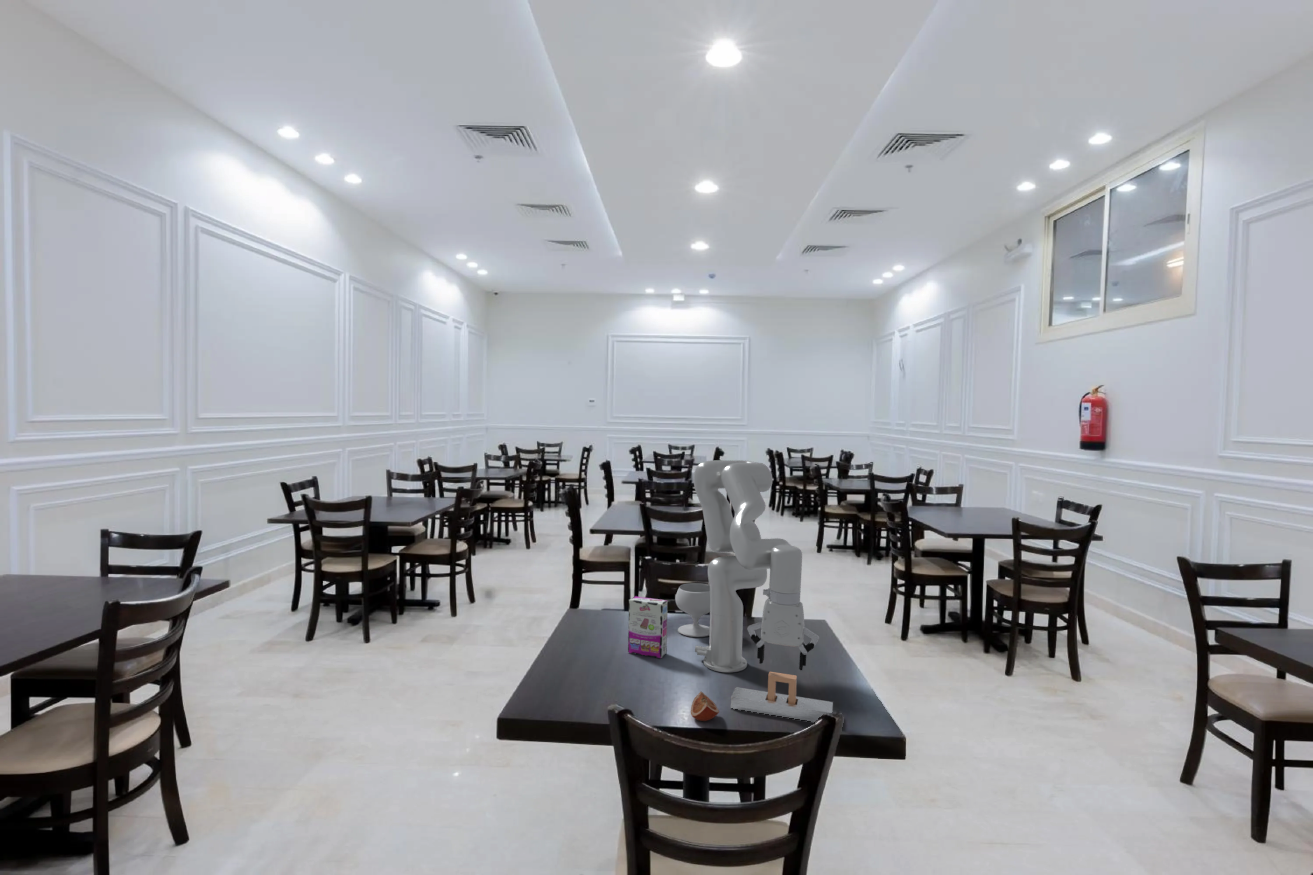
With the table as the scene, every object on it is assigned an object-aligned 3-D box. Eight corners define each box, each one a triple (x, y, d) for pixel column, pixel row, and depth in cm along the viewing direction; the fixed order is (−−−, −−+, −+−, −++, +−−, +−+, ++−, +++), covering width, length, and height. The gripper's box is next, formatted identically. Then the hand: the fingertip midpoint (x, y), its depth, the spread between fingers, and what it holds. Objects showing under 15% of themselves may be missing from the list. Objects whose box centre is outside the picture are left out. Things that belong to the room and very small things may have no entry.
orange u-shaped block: (767, 711, 153) (768, 675, 153) (768, 707, 156) (769, 671, 155) (794, 715, 151) (795, 679, 151) (795, 711, 153) (796, 675, 153)
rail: (730, 708, 154) (731, 696, 154) (735, 698, 160) (735, 686, 160) (831, 725, 147) (831, 712, 147) (832, 714, 152) (832, 701, 152)
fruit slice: (688, 710, 153) (688, 690, 153) (715, 709, 153) (715, 689, 153) (693, 727, 145) (693, 706, 144) (721, 726, 145) (722, 705, 145)
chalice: (672, 625, 216) (673, 582, 215) (711, 624, 217) (713, 581, 217) (678, 639, 202) (679, 593, 201) (720, 638, 203) (721, 593, 203)
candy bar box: (667, 653, 190) (668, 599, 189) (661, 659, 185) (662, 604, 184) (633, 647, 194) (635, 595, 193) (627, 652, 189) (628, 599, 189)
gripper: (746, 596, 152) (743, 665, 153) (819, 605, 146) (816, 676, 147) (751, 587, 159) (748, 653, 160) (821, 596, 154) (818, 664, 155)
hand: (781, 664), depth 154 cm, fingers open, 9 cm apart
